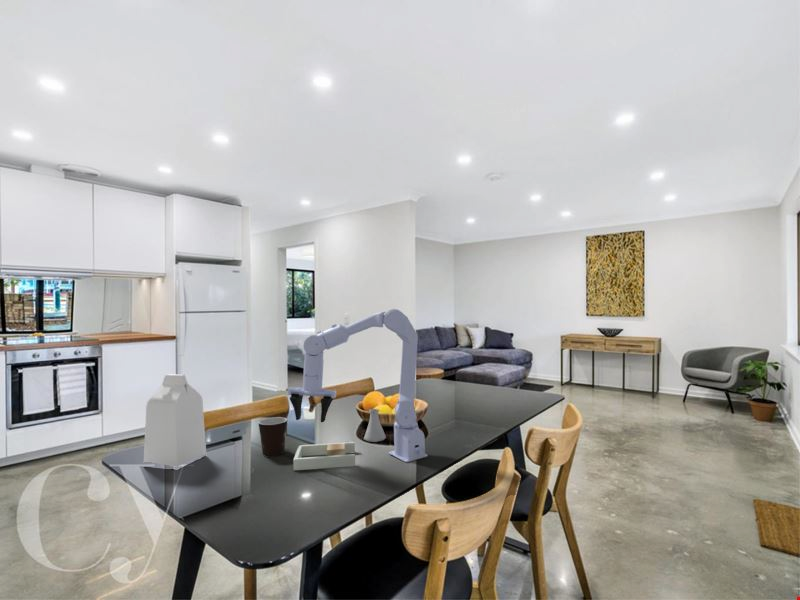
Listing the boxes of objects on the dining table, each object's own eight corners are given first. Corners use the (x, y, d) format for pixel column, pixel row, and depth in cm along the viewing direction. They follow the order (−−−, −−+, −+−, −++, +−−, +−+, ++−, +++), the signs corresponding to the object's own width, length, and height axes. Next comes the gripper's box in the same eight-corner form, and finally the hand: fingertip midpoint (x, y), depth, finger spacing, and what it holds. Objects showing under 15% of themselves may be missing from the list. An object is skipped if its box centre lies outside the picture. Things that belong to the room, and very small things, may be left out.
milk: (206, 456, 126) (205, 372, 126) (176, 470, 114) (175, 378, 115) (175, 453, 129) (174, 371, 129) (143, 467, 118) (142, 377, 118)
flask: (376, 444, 133) (375, 413, 133) (359, 440, 137) (359, 410, 138) (389, 438, 139) (389, 408, 139) (373, 434, 143) (373, 406, 143)
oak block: (344, 456, 122) (344, 443, 123) (344, 462, 118) (344, 448, 118) (328, 457, 122) (327, 444, 122) (327, 464, 117) (326, 450, 117)
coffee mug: (279, 458, 122) (278, 425, 122) (253, 457, 123) (252, 424, 124) (296, 445, 133) (296, 415, 133) (272, 444, 135) (272, 414, 135)
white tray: (354, 451, 126) (354, 441, 126) (355, 466, 114) (354, 455, 114) (298, 455, 124) (298, 445, 124) (293, 470, 112) (293, 459, 112)
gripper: (284, 375, 119) (282, 421, 119) (332, 378, 117) (330, 425, 117) (293, 371, 126) (291, 415, 126) (339, 375, 124) (336, 419, 124)
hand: (310, 420), depth 122 cm, fingers open, 7 cm apart
